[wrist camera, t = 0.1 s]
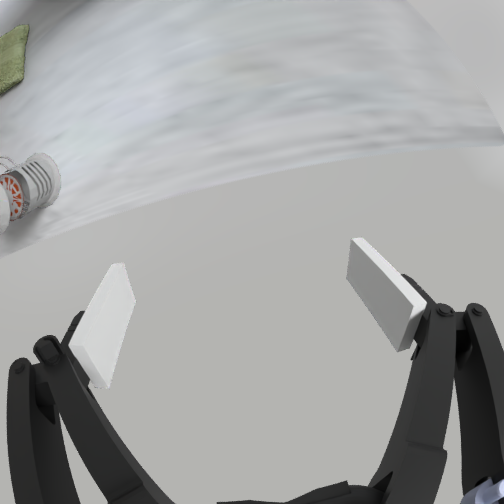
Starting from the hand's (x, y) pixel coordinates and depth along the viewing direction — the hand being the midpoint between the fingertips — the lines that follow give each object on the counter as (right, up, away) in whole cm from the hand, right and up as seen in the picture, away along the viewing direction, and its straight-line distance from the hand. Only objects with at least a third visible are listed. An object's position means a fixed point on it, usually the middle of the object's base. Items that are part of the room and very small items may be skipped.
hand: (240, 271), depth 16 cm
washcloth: (-46, +35, +9) cm, 58 cm away
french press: (-36, +14, +20) cm, 43 cm away
